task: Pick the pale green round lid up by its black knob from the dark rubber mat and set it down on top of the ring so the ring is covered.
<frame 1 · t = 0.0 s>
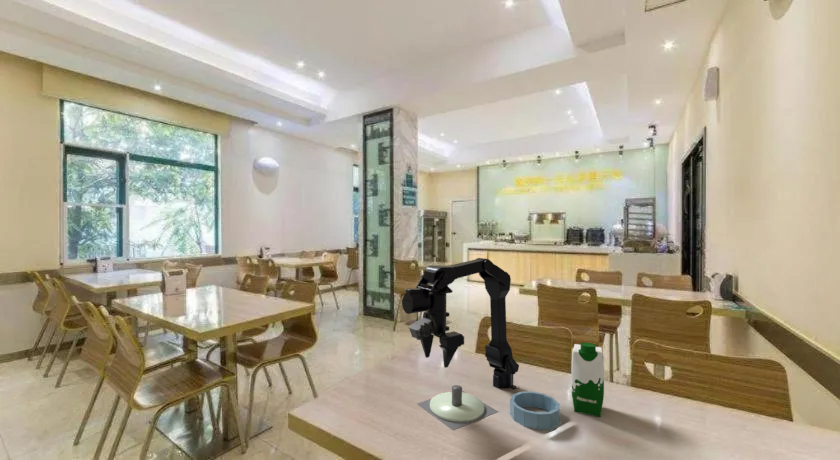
hand: (436, 362, 107), 15 cm above the table, tool pointing down, fingers open, 9 cm apart
ring: (534, 419, 103), on the table
mat: (456, 410, 107), on the table
milk carton: (587, 409, 109), on the table
lid: (456, 407, 107), point 1 cm above the table, touching mat
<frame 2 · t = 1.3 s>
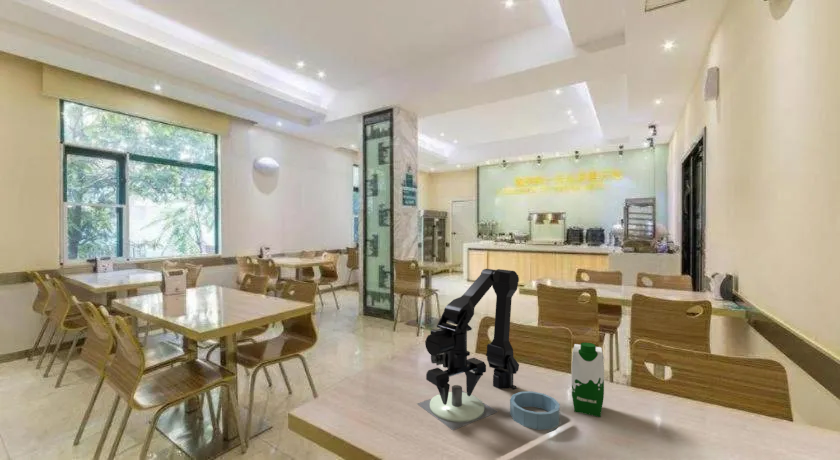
hand: (456, 399, 107), 3 cm above the table, tool pointing down, fingers open, 9 cm apart
nothing on the table moved.
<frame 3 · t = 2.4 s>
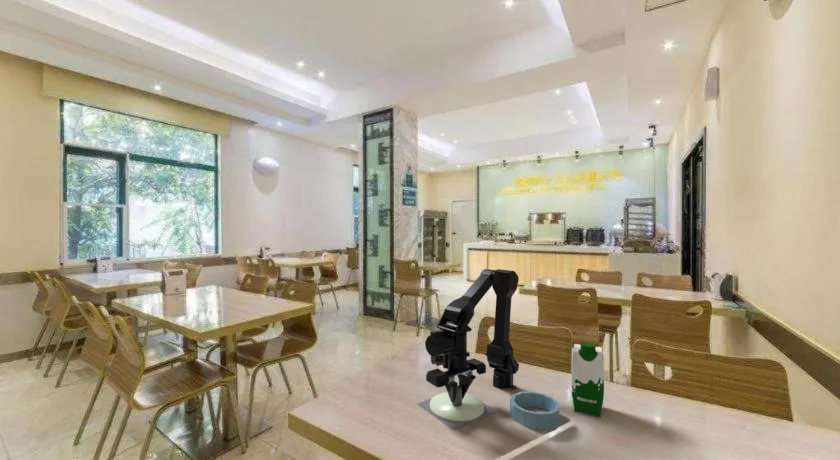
hand: (456, 400, 107), 3 cm above the table, tool pointing down, fingers closed on lid, 3 cm apart
lid: (456, 407, 107), point 1 cm above the table, touching gripper, mat
everything else where it was.
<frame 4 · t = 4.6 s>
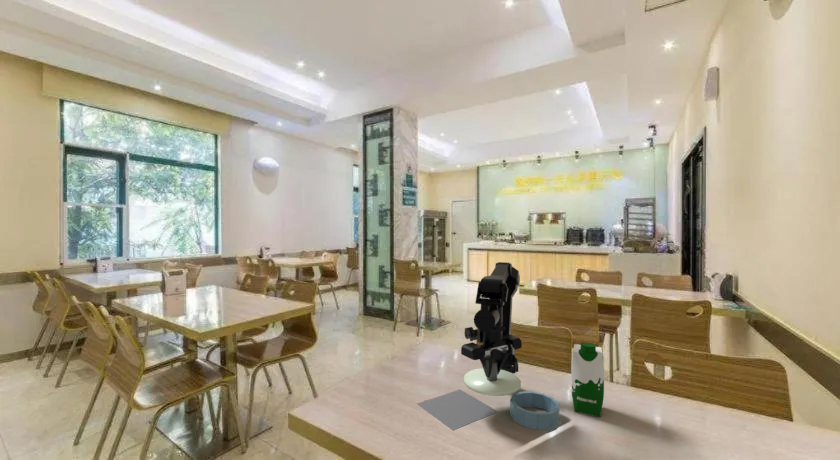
hand: (492, 375, 105), 11 cm above the table, tool pointing down, fingers closed on lid, 3 cm apart
lid: (492, 382, 105), point 9 cm above the table, touching gripper
everything else where it was.
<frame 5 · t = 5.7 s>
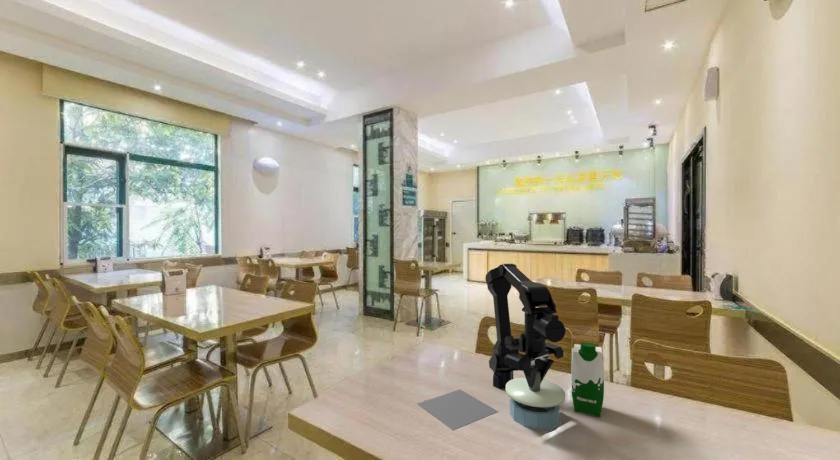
hand: (534, 385, 103), 10 cm above the table, tool pointing down, fingers closed on lid, 3 cm apart
lid: (534, 392, 103), point 8 cm above the table, touching gripper
everything else where it was.
when the fingers open (8 cm above the table, at t = 6.6 s): lid stays where it is, resting on ring.
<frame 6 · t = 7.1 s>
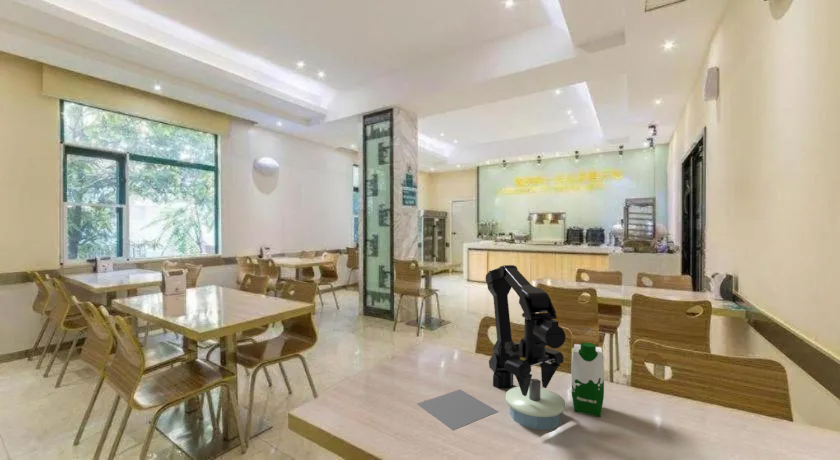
hand: (534, 391, 103), 8 cm above the table, tool pointing down, fingers open, 8 cm apart
lid: (534, 402, 103), point 5 cm above the table, touching ring
everything else where it was.
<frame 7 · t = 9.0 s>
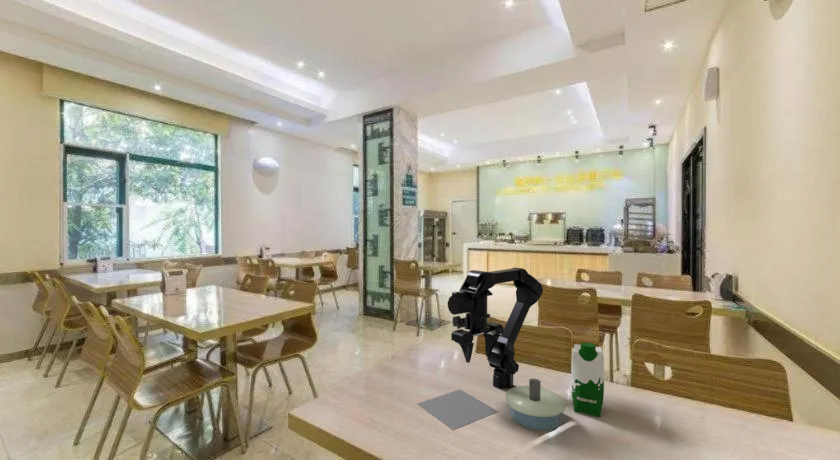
hand: (478, 359, 116), 12 cm above the table, tool pointing down, fingers open, 9 cm apart
nothing on the table moved.
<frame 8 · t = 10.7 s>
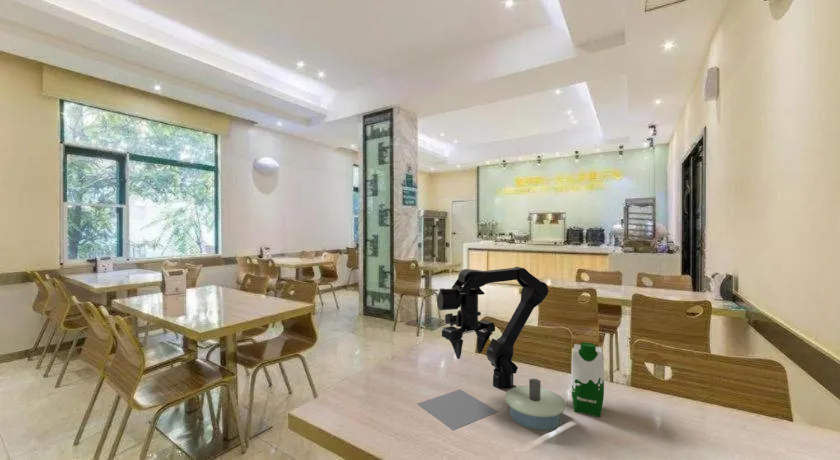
hand: (469, 355, 119), 12 cm above the table, tool pointing down, fingers open, 9 cm apart
nothing on the table moved.
at the end: lid 0.0 cm off-centre on the ring, point 5.0 cm above the ring's base; lid tilted 0°; the gripper is holding nothing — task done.
